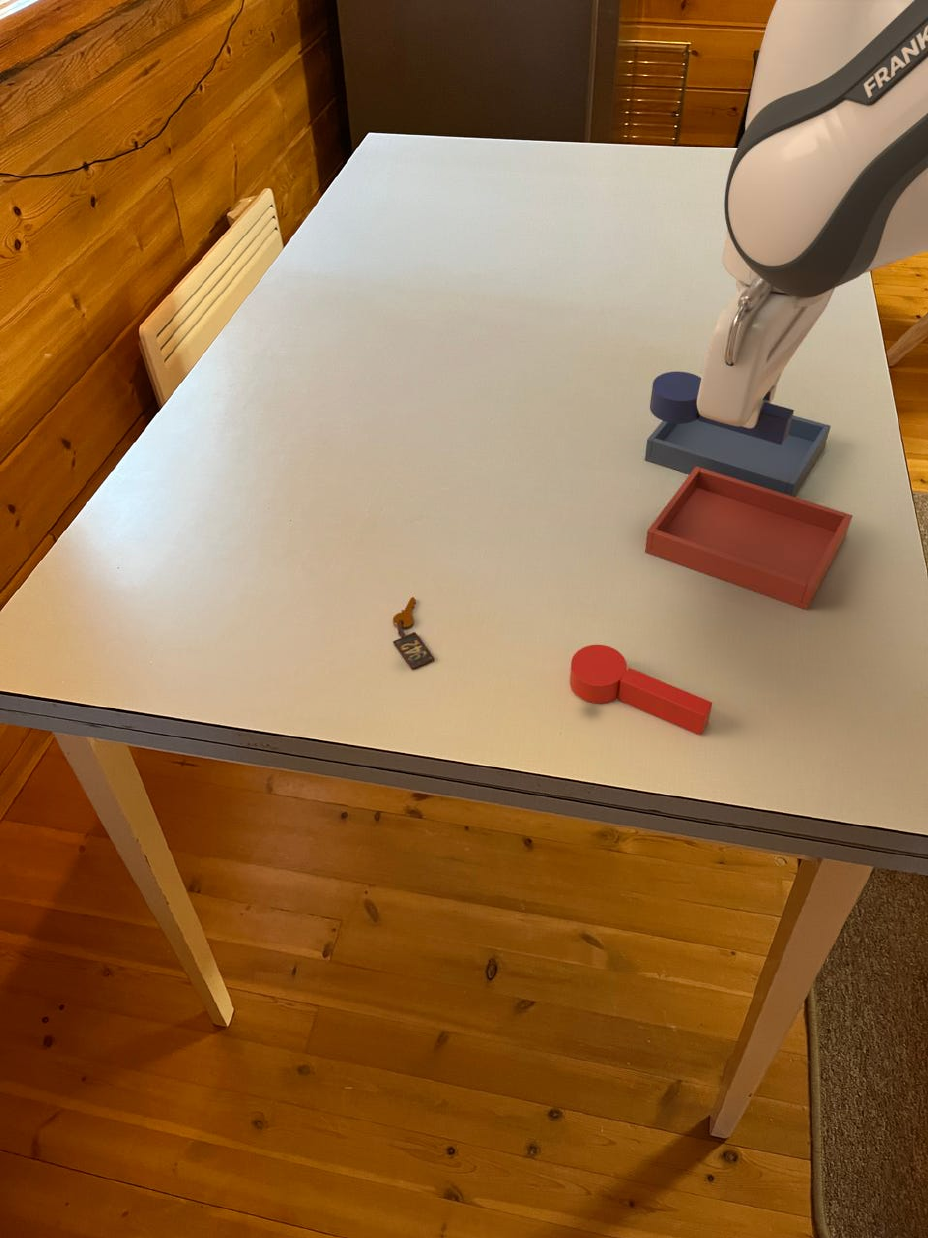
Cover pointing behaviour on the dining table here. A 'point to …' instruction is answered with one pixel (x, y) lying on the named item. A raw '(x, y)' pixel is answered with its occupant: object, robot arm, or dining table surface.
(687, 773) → the dining table surface
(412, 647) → the key tag
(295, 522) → the dining table surface
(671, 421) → the blue spoon
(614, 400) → the dining table surface
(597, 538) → the dining table surface
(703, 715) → the red spoon
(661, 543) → the red tray
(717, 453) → the blue tray
